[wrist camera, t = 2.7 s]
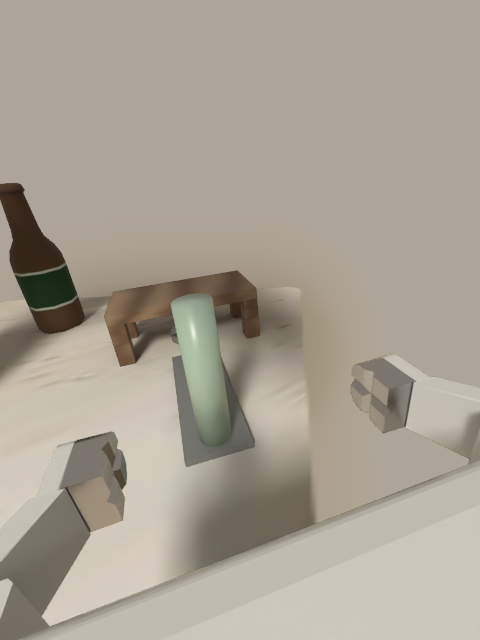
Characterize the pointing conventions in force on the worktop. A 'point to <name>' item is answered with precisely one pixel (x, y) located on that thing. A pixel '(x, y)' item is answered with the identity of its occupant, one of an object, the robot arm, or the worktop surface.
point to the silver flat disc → (174, 335)
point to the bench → (157, 303)
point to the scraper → (204, 386)
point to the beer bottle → (39, 267)
